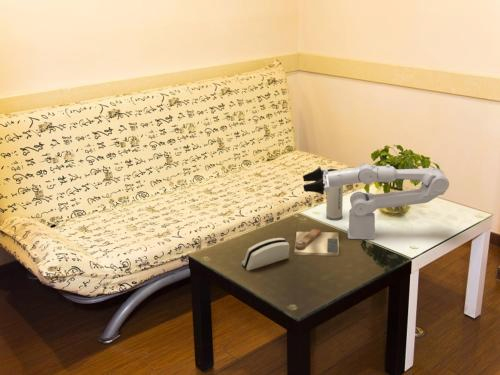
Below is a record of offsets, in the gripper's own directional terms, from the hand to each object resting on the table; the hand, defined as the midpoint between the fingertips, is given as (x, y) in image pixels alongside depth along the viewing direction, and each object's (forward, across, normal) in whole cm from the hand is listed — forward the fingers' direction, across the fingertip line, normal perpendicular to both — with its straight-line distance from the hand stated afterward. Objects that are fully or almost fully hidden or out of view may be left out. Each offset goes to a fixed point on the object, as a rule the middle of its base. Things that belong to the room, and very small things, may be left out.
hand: (303, 183), depth 214 cm
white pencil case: (+16, +25, +15) cm, 33 cm away
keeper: (-7, +17, +20) cm, 27 cm away
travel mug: (-9, -13, +24) cm, 29 cm away
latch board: (-2, +11, +20) cm, 23 cm away
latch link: (+1, +11, +18) cm, 21 cm away
